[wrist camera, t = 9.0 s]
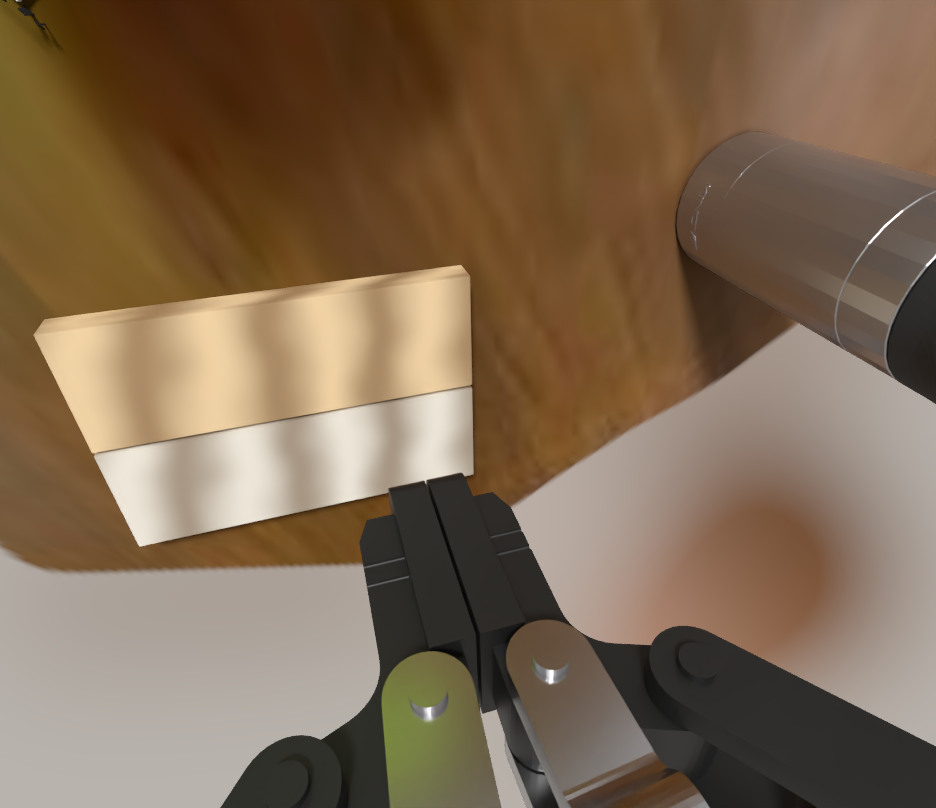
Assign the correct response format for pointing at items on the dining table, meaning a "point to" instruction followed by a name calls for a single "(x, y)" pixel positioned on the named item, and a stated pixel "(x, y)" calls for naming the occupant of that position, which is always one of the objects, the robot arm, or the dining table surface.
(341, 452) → the whitewashed oak board
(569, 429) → the dining table surface
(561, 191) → the dining table surface
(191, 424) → the honey oak plank
